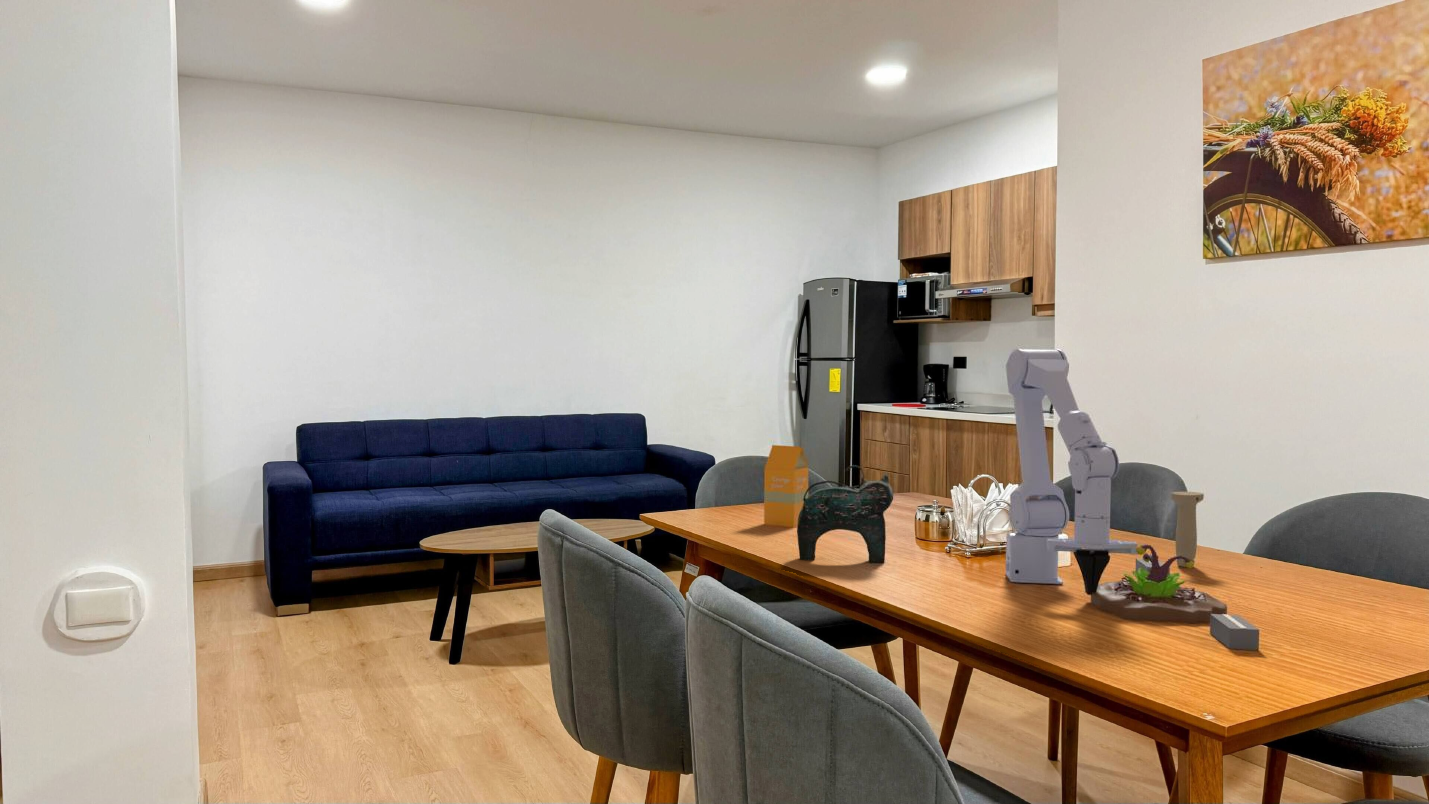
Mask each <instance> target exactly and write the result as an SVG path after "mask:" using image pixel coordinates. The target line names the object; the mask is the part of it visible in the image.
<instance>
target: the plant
mask: <svg viewBox="0 0 1429 804" xmlns="http://www.w3.org/2000/svg"><path fill="white" fill-rule="evenodd" d="M1147 550H1149V551H1150V553H1151V554H1150V553H1148V552H1147ZM1136 552H1137V555H1140V556H1141V555H1143V556H1142V559H1143V560H1144V561H1145V562H1149V561H1150V562H1151V563H1152V568H1151V569H1150V573H1149V572H1148V571H1146V570H1143V569H1141V568H1140V569H1139V570H1138V573H1137V572H1135V570H1131V573H1132V574H1133V575H1134V577H1136V580H1135V578H1133V577H1132V576H1131V575H1129V574H1128V573H1124V572H1122V575H1123V577H1121V580H1114V581H1108V582H1103V583H1099V584H1098V587H1097V591H1096V592H1093V593H1092V594H1091V595H1090V605H1092V606H1093V607H1095V608H1096V609H1097V610H1099V611H1101V612H1103V613H1108V614H1111V615H1114V616H1117V617H1119V618H1120V619H1122V620H1124V621H1134V622H1136V621H1137V622H1156V623H1185V624H1191V625H1195V624H1210V614H1228V606H1227V604H1226V603H1225V602H1223V601H1220V600H1218V599H1217V598H1215V597H1213V596H1212V595H1210V594H1209V593H1207V592H1204V591H1201V590H1197V589H1196V587H1193V588H1192V587H1190V588H1189V587H1182V585H1184V584H1185V583H1186V582H1187V580H1181V581H1178V580H1179V578H1180V576H1181V574H1180V572H1176V573H1175V572H1174V573H1170V575H1168V576H1167V574H1168V570H1169V568H1171V565H1172V564H1173V563H1174V562H1175V561H1177V560H1178V559H1184V560H1185V565H1186V567H1185V568H1187V569H1192V568H1193V567H1194V566H1195V564H1194V565H1193V562H1192V561H1191V560H1190V559H1189V558H1186V557H1183V556H1181V555H1180V556H1176V555H1175V556H1174V555H1173V556H1172V557H1170V558H1168V560H1165V562H1164V563H1163V565H1162V566H1160V565H1159V562H1158V560H1159V556H1158V555H1157V552H1156V550H1155V549H1154V547H1153V546H1152V545H1150V544H1142V545H1139V546H1138V545H1137V549H1136ZM1195 589H1196V590H1195Z"/></svg>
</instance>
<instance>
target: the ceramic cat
mask: <svg viewBox="0 0 1429 804" xmlns="http://www.w3.org/2000/svg"><path fill="white" fill-rule="evenodd" d="M852 468H857V469H859V470H860V471H861V472H862V477H861V479H860V480H861V482H860V483H859V484H858V485H854V486H848V485H846V484H841V483H839V482H837V481H832V480H822V481H818V482H815V483H812V484H811V485H809V486H808V489H807V491H806V493H805V495H804V498H803V501H804V503H803V507H802V509H801V511H800V514H799V517H798V527H796V535H797V545H798V546H797V547H798V551H799V552H798V553H799V560H800V561H815V559H816V549H817V543H818V540H819V538H821V537H822V536H823V535H825V534H826V533H829V532H831V531H836V530H837V531H838V530H842V531H843V530H844V531H849V532H855V533H857V534H860V536H862V538H863V540H864V542H865V544H866V548H867V553H868V562H869V564H870V563H871V564H873V563H874V564H875V563H879V564H880V563H881V564H885V561H886V558H885V557H886V540H887V539H886V538H887V535H886V520H885V516H884V513H885V512H886V511H887V510H888V509H889V508H890V506H891V504H892V502H893V500H894V490H893V487H892V486H891V484H890V480H889V477H888V476H887V474H885V475H883V476H882V478H881V479H879V480H868V479H866V478H865V473H864V470H863V468H862V467H860V466H859V465H856V464H855V465H854V464H853V465H851V466H848V467H847V468H846V469H845V472H846V473H847V472H848V471H849V470H850V469H852ZM828 483H829V484H835V486H830V487H822V488H820V489H817V490H815V491H813V492H812V493H811V494H809V495H808V498H806V499H805V497H806V494H807V492H808V493H809V491H810V490H812V489H813V487H815V486H817V485H822V484H823V485H824V484H828ZM836 485H837V486H836ZM858 487H859V488H858Z"/></svg>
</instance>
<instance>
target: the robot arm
mask: <svg viewBox="0 0 1429 804" xmlns="http://www.w3.org/2000/svg"><path fill="white" fill-rule="evenodd" d="M1007 359H1008V360H1007V361H1006V364H1005V370H1006V380H1007V387H1008V389H1007V390H1008V393H1009V394H1010V395H1011V396H1013V398H1012V399H1013V407H1014V414H1015V415H1014V418H1015V424H1016V426H1015V427H1016V435H1017V445H1018V453H1019V461H1020V463H1019V464H1020V471H1021V472H1020V473H1021V483H1020V484H1019V485H1018V486H1017V487H1016V488H1015V489H1014V490H1013V491H1011V492H1010V494H1009V498H1010V500H1009V503H1010V504H1009V508H1008V509H1009V510H1008V519H1009V522H1010V525H1011V527H1012V528H1013V529H1014V531H1015V532H1008V533H1007V535H1006V541H1005V543H1006V544H1005V545H1006V546H1005V547H1006V550H1005V552H1006V553H1005V573H1004V574H1005V575H1006V577H1007V578H1008V580H1009V581H1010V582H1011V583H1025V584H1027V583H1029V584H1049V585H1051V584H1052V585H1063V584H1064V581H1063V580H1062V579H1061V578H1060V576H1059V570H1058V569H1059V552H1073V553H1072V554H1073V555H1074V558H1075V560H1076V562H1077V564H1078V567H1079V571H1080V572H1081V576H1082V580H1083V584H1084V591H1085V594H1086V595H1088V596H1091V594H1092V593H1093V592H1096V591H1097V587H1098V585H1099V584H1100V580H1101V578H1102V575H1103V573H1104V571H1105V570H1106V569H1107V566H1108V564H1109V562H1110V559H1111V556H1110V554H1125V555H1126V554H1129V555H1132V556H1133V555H1134V556H1135V555H1136V556H1137V555H1138V553H1137V552H1136V549H1137V547H1138V543H1137V542H1136V541H1130V540H1129V541H1127V540H1115V539H1114V540H1113V539H1110V538H1111V537H1110V535H1111V534H1110V531H1111V495H1112V491H1111V490H1112V489H1111V488H1112V480H1113V479H1115V477H1116V476H1117V475H1118V472H1119V469H1120V461H1119V457H1118V454H1117V451H1116V449H1115V448H1114V447H1113V446H1111V445H1108V443H1107V442H1106V441H1103V440H1102V439H1101V437H1100V435H1099V433H1098V430H1097V429H1096V427H1095V425H1094V422H1093V421H1092V419H1091V417H1090V415H1089V414H1088V413H1087V412H1085V411H1080V409H1079V406H1078V403H1077V401H1076V398H1075V396H1074V393H1073V390H1072V388H1071V386H1070V385H1071V384H1070V383H1069V380H1068V374H1069V371H1070V363H1069V361H1068V357H1067V355H1066V354H1065V352H1064V351H1063V350H1062V349H1059V348H1055V349H1022V348H1015V349H1013V350H1012V351H1011V352H1010V354H1009V356H1008V358H1007ZM1045 397H1047V398H1048V400H1049V402H1050V404H1051V405H1052V407H1053V408H1054V410H1055V412H1056V414H1057V415H1058V417H1059V421H1058V423H1057V430H1058V432H1059V434H1060V436H1061V439H1062V441H1063V442H1064V445H1065V447H1066V449H1067V451H1068V453H1069V456H1070V457H1069V461H1068V462H1067V463H1068V464H1067V465H1068V470H1069V474H1070V476H1071V486H1072V489H1074V493H1075V494H1074V522H1073V523H1074V524H1073V525H1074V529H1073V531H1074V533H1073V537H1072V538H1060V537H1059V535H1063V531H1064V530H1065V529H1066V528H1067V527H1068V524H1069V523H1070V522H1069V521H1070V510H1069V507H1068V504H1067V502H1066V499H1065V494H1064V491H1063V489H1061V487H1059V486H1058V485H1056V484H1055V483H1054V482H1053V481H1052V479H1051V472H1050V471H1051V470H1050V463H1049V454H1048V453H1049V452H1048V446H1047V445H1048V444H1047V437H1046V436H1047V435H1046V428H1045V419H1044V410H1043V400H1044V398H1045Z"/></svg>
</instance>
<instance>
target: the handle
mask: <svg viewBox="0 0 1429 804" xmlns="http://www.w3.org/2000/svg"><path fill="white" fill-rule="evenodd" d="M1204 495H1205V494H1204V493H1202V492H1198V491H1197V492H1196V491H1174V492H1171V493H1170V498H1171V500H1172V501H1174V502H1175V503H1177V515H1176V516H1177V518H1176V526H1175V527H1176V529H1175V545H1174V546H1175V556H1180V555H1181V556H1183V557H1186V558H1189V559H1190V560H1191V561H1192V562H1193V565H1194V566H1195V561H1196V560H1195V559H1196V554H1197V547H1198V546H1197V545H1198V543H1197V542H1198V532H1197V530H1198V529H1197V505H1198V504H1199V503H1200V502H1202V501H1203V500H1204ZM1176 565H1177V566H1178V567H1181V568H1187V567H1186V565H1185V560H1184V559H1176Z"/></svg>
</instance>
